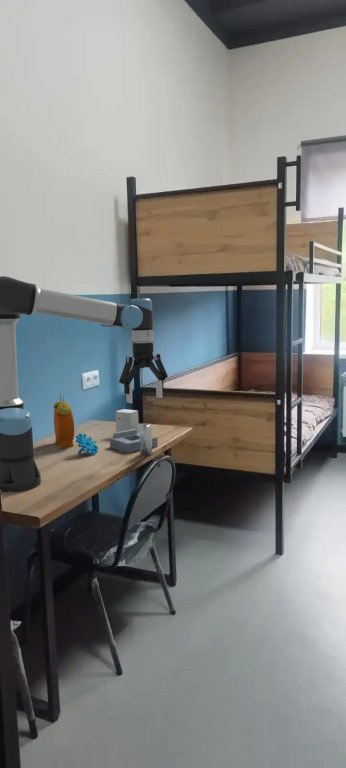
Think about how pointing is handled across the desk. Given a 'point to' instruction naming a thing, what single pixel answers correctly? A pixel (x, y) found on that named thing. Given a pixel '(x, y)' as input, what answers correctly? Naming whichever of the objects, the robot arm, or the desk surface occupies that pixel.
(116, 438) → the frame
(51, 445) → the desk surface
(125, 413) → the small box
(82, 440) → the gear
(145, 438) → the bushing
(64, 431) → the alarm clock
